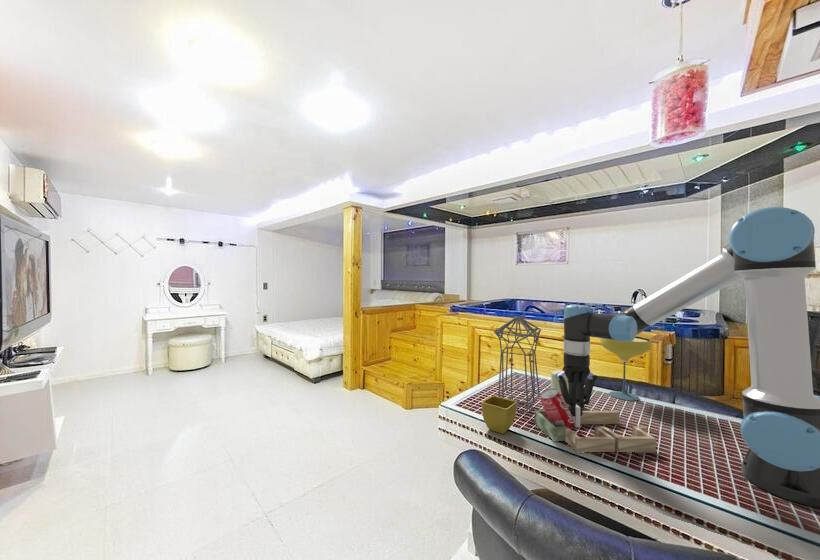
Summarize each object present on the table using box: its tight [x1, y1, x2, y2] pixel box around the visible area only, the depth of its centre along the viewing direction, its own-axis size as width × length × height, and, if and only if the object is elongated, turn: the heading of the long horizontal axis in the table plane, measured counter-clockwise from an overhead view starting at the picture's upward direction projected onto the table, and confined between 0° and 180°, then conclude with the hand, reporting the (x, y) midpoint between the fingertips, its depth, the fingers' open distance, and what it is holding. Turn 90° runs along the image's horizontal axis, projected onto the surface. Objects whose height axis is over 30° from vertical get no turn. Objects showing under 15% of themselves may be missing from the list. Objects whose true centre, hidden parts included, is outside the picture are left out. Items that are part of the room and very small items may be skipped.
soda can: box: [539, 388, 575, 430], centre depth 102 cm, size 7×7×12 cm
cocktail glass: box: [599, 336, 652, 402], centre depth 134 cm, size 18×18×25 cm
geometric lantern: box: [493, 316, 542, 414], centre depth 121 cm, size 16×16×35 cm
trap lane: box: [533, 409, 657, 454], centre depth 99 cm, size 19×29×4 cm, turn 93°
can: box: [550, 369, 569, 407], centre depth 127 cm, size 9×9×12 cm
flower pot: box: [481, 395, 518, 434], centre depth 102 cm, size 9×9×9 cm
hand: (575, 425), depth 102 cm, fingers closed
